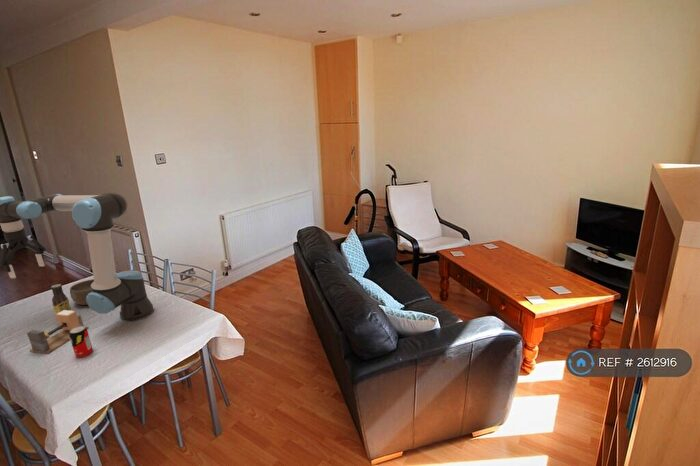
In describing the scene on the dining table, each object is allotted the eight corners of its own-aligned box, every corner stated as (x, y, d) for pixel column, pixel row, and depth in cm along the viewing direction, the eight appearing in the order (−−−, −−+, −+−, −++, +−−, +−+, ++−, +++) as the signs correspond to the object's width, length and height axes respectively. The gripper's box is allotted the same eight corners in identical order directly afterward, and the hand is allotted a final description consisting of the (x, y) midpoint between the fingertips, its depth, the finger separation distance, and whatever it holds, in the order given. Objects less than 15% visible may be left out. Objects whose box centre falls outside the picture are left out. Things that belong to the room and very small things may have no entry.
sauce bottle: (65, 326, 178) (54, 289, 172) (55, 324, 180) (43, 288, 173) (77, 319, 184) (66, 283, 178) (67, 317, 186) (56, 282, 180)
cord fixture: (71, 326, 178) (66, 308, 175) (88, 328, 176) (83, 310, 173) (29, 351, 159) (23, 332, 156) (48, 354, 157) (41, 334, 154)
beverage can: (82, 349, 160) (75, 325, 156) (96, 349, 160) (89, 325, 156) (71, 358, 154) (64, 333, 150) (86, 358, 154) (79, 333, 150)
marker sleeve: (80, 325, 173) (75, 310, 171) (72, 330, 169) (67, 315, 167) (67, 324, 174) (63, 309, 172) (60, 329, 171) (55, 314, 168)
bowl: (102, 290, 214) (98, 275, 211) (116, 298, 204) (112, 282, 201) (68, 302, 201) (63, 286, 198) (80, 312, 191) (75, 294, 188)
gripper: (34, 222, 182) (47, 261, 188) (-24, 238, 159) (-7, 282, 165) (46, 222, 180) (58, 262, 187) (-11, 238, 157) (6, 283, 164)
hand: (28, 271), depth 176 cm, fingers open, 13 cm apart
